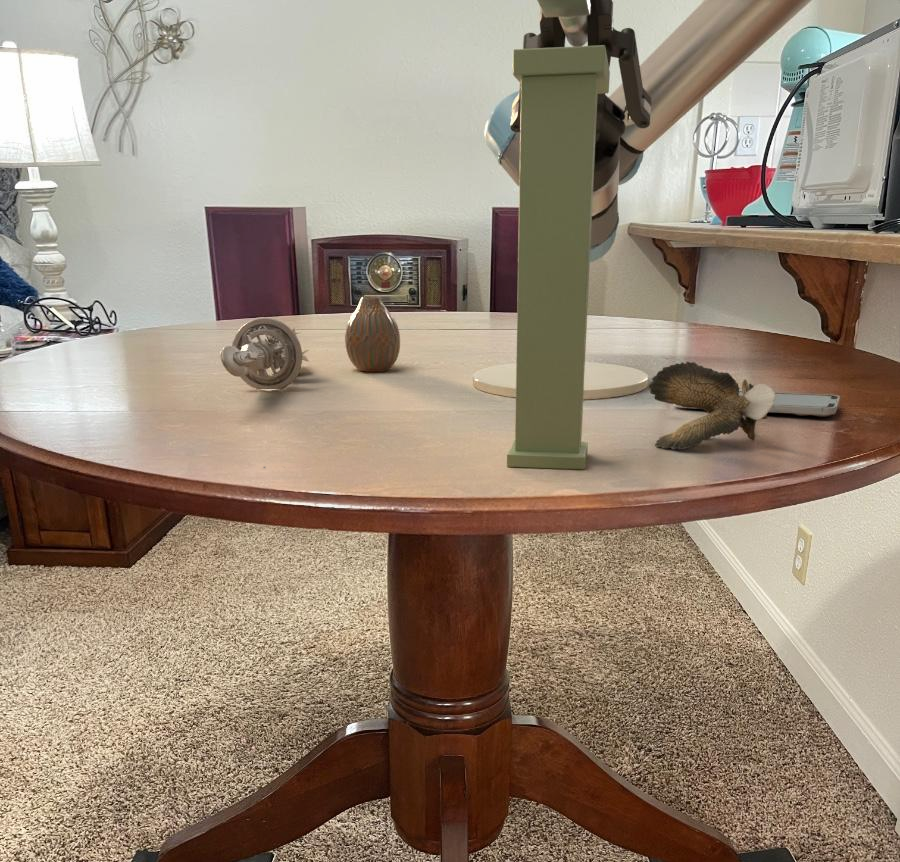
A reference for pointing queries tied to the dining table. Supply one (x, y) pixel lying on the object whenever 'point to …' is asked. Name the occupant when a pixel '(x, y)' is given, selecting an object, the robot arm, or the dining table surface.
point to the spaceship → (264, 354)
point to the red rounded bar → (569, 17)
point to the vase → (372, 336)
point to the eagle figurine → (709, 403)
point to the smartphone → (802, 404)
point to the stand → (554, 249)
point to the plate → (596, 380)
